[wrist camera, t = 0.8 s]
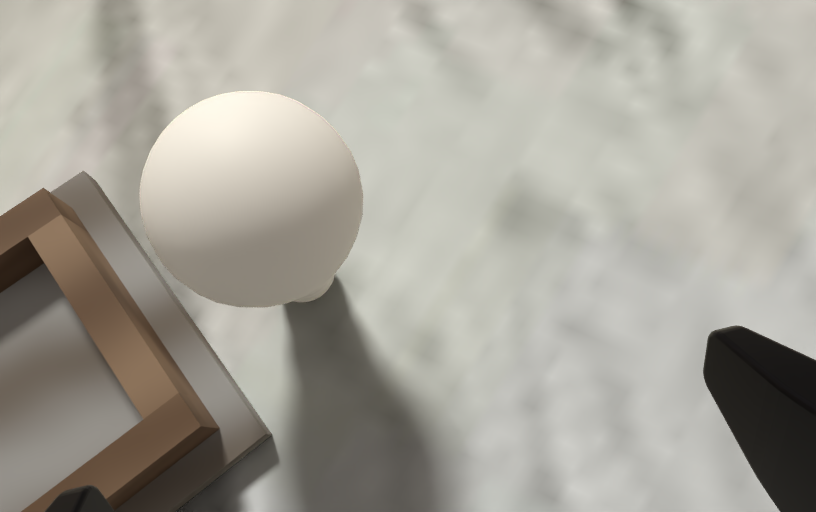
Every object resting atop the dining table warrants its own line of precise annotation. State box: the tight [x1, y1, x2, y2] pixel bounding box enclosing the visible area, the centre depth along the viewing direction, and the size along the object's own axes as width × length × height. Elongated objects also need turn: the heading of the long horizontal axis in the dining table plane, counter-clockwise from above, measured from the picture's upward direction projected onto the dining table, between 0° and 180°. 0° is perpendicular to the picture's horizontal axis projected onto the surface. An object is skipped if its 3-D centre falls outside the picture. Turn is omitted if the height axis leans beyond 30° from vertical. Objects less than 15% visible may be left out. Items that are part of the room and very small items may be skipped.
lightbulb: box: [139, 91, 363, 307], centre depth 20 cm, size 6×6×11 cm
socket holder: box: [0, 171, 272, 512], centre depth 22 cm, size 14×14×3 cm
